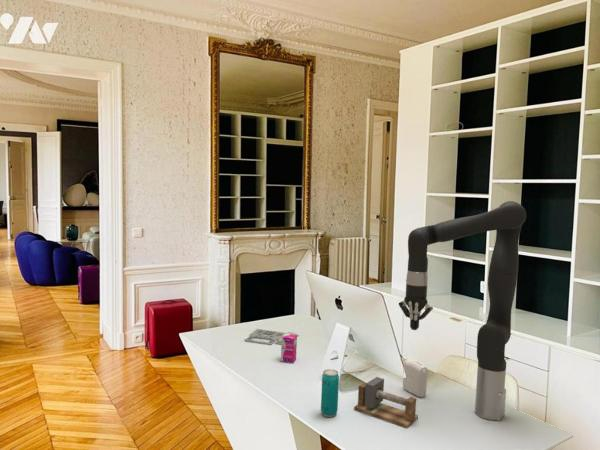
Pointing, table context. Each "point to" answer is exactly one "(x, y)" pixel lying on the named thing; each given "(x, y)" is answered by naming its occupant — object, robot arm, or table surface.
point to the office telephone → (267, 336)
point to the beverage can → (329, 393)
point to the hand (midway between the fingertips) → (414, 329)
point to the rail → (389, 408)
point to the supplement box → (288, 348)
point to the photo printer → (415, 378)
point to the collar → (373, 392)
